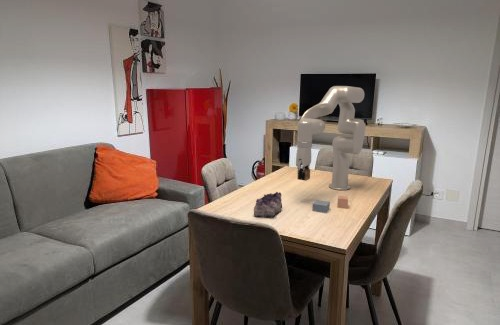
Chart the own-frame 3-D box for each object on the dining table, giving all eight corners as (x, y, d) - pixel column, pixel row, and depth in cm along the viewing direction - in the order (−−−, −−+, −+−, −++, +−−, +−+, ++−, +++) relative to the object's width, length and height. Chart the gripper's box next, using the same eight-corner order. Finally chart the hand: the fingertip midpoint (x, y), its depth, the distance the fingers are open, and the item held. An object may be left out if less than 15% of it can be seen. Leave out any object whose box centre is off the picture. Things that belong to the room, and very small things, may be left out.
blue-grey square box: (315, 207, 184) (316, 199, 183) (329, 209, 181) (329, 201, 180) (312, 211, 177) (312, 203, 177) (326, 213, 174) (326, 205, 174)
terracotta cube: (337, 204, 187) (338, 195, 186) (347, 205, 186) (348, 196, 185) (337, 207, 183) (337, 198, 181) (347, 208, 181) (347, 199, 180)
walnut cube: (301, 177, 192) (301, 168, 190) (310, 178, 189) (310, 169, 188) (297, 179, 188) (297, 170, 186) (306, 180, 185) (306, 171, 184)
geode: (265, 204, 187) (268, 186, 185) (285, 210, 183) (289, 192, 180) (248, 215, 169) (251, 195, 167) (270, 222, 165) (274, 202, 162)
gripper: (304, 141, 193) (303, 173, 197) (290, 146, 179) (290, 181, 183) (317, 142, 189) (316, 175, 193) (304, 148, 175) (303, 183, 179)
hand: (303, 177), depth 188 cm, fingers closed on walnut cube, 5 cm apart
